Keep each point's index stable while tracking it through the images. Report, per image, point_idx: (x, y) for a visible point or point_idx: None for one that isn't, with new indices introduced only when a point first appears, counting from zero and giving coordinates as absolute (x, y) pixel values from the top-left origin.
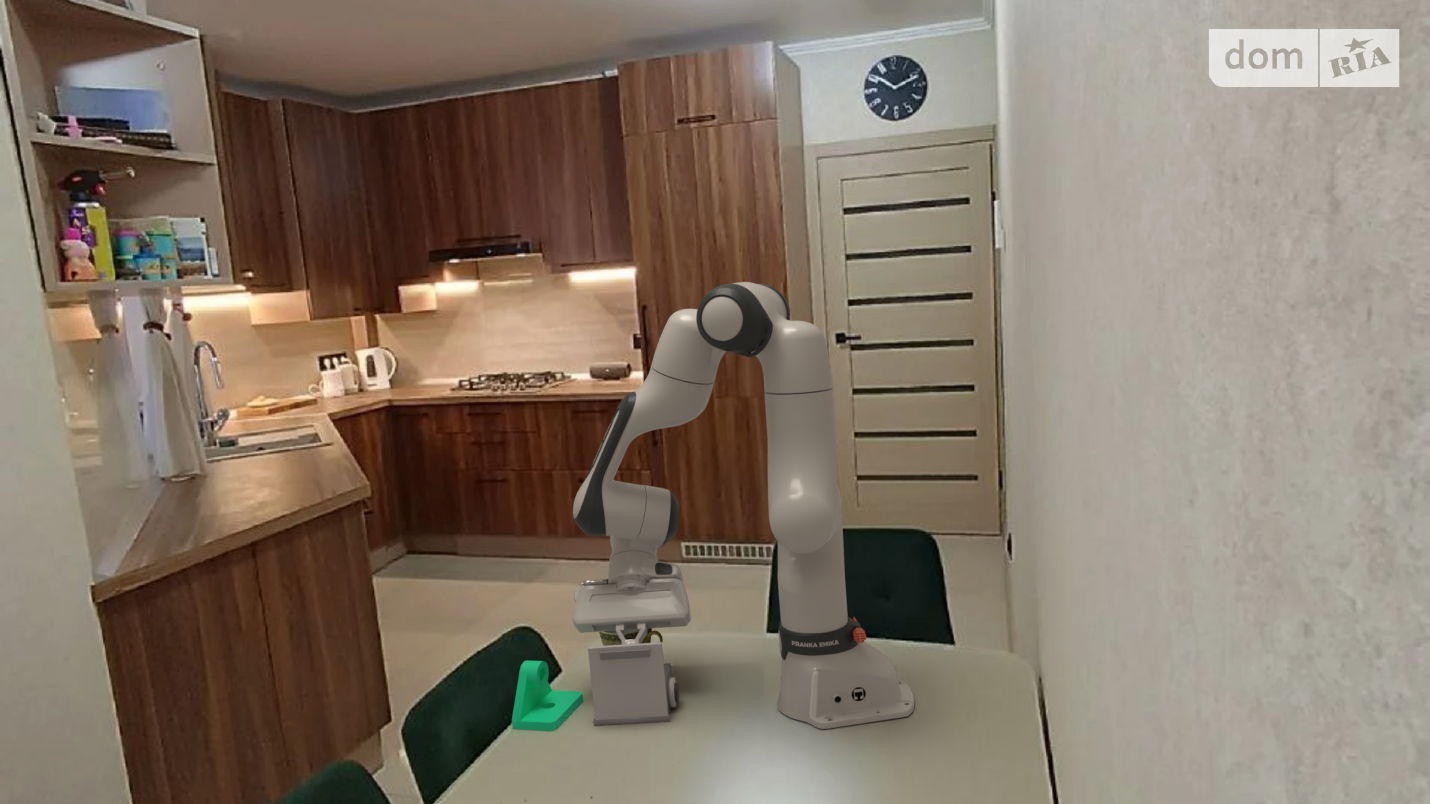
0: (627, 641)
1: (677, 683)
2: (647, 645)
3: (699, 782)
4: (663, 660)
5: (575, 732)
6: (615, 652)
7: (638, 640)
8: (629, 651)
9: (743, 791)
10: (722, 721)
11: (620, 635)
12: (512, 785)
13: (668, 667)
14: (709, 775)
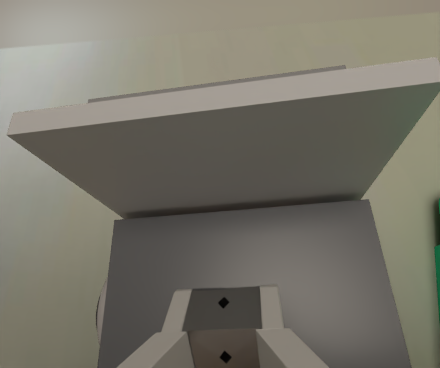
0: (241, 317)
1: (97, 312)
2: (84, 106)
3: (110, 60)
4: (68, 177)
5: (387, 216)
6: (257, 78)
7: (165, 320)
8: (184, 88)
9: (56, 47)
10: (47, 253)
11: (300, 354)
12: (416, 32)
13: (100, 363)
14: (95, 76)
